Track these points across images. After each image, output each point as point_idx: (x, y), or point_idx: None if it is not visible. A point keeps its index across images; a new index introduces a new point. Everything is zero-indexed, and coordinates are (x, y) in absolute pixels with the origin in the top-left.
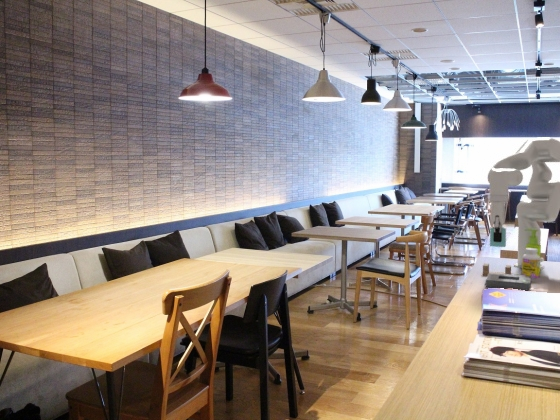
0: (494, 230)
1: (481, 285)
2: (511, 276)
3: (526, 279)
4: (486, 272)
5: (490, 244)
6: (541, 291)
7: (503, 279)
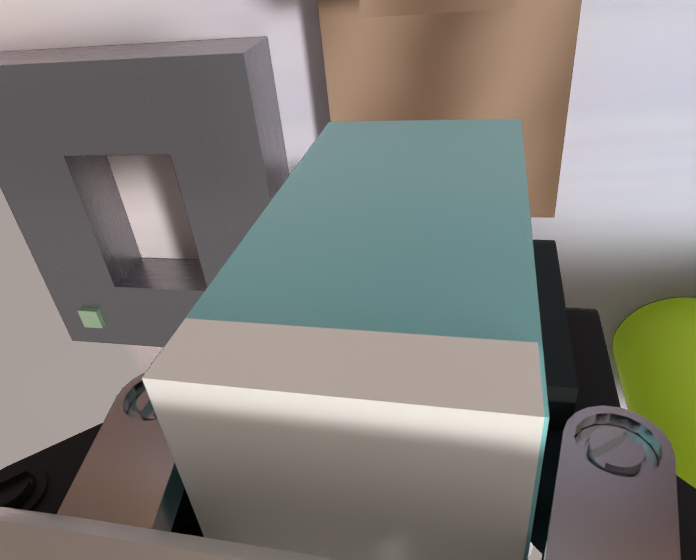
0: (112, 424)
1: (22, 6)
2: (204, 241)
3: (169, 328)
4: None
5: (322, 142)
6: (136, 359)
7: (61, 195)
